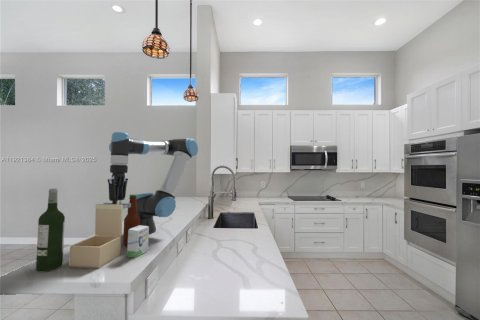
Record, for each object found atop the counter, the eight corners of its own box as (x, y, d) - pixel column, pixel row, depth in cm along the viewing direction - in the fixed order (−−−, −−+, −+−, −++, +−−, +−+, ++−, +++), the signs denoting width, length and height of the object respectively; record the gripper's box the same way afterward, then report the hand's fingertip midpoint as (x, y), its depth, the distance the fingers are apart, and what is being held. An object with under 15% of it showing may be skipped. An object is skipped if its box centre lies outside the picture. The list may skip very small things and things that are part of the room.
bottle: (140, 242, 120) (142, 193, 121) (137, 247, 113) (139, 195, 114) (125, 243, 118) (127, 194, 119) (121, 248, 111) (123, 195, 112)
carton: (94, 253, 103) (94, 235, 103) (120, 254, 102) (120, 236, 103) (69, 267, 89) (70, 246, 89) (99, 268, 88) (100, 247, 89)
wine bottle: (30, 269, 86) (34, 189, 87) (54, 262, 93) (57, 187, 95) (44, 273, 83) (48, 190, 85) (67, 265, 91) (70, 188, 92)
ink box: (138, 250, 109) (139, 224, 109) (148, 251, 108) (149, 225, 108) (126, 256, 100) (127, 229, 101) (136, 258, 99) (137, 230, 100)
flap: (94, 235, 103) (105, 230, 111) (121, 236, 103) (130, 231, 110) (95, 204, 104) (105, 201, 111) (122, 204, 103) (131, 201, 110)
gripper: (120, 165, 119) (118, 211, 117) (101, 163, 104) (98, 217, 102) (134, 165, 118) (132, 211, 117) (117, 164, 103) (115, 217, 102)
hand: (116, 214), depth 110 cm, fingers closed on flap, 2 cm apart
